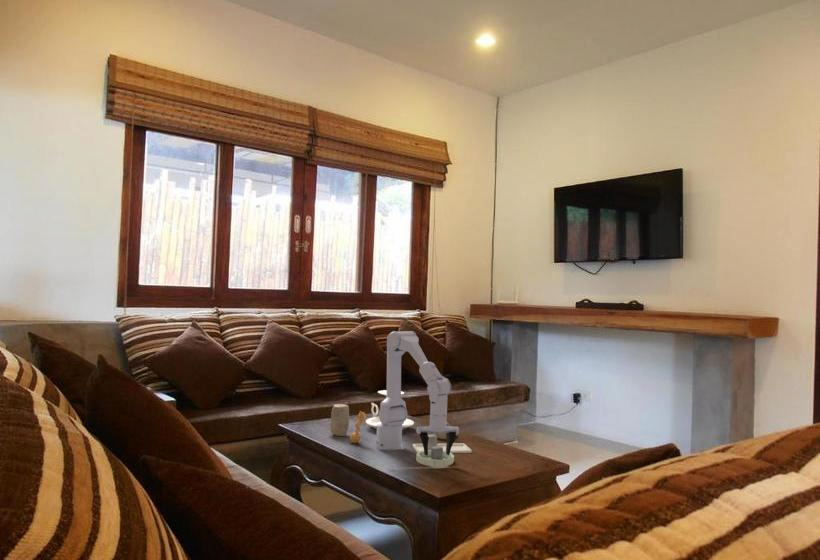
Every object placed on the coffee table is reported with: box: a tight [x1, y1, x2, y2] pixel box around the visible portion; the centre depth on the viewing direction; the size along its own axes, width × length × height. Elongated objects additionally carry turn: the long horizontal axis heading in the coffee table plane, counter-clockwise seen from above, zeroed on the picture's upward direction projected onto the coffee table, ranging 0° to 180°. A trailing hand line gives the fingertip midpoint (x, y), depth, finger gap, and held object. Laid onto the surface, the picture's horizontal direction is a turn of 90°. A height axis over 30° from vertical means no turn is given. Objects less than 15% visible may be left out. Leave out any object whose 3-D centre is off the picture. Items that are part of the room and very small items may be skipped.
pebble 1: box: [428, 434, 438, 450], centre depth 211 cm, size 4×4×5 cm
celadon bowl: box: [415, 450, 455, 469], centre depth 197 cm, size 13×13×3 cm
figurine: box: [349, 410, 368, 444], centre depth 219 cm, size 8×6×12 cm
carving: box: [329, 403, 350, 437], centre depth 230 cm, size 6×8×12 cm
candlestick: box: [365, 389, 415, 431], centre depth 245 cm, size 21×25×28 cm
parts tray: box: [412, 442, 473, 454], centre depth 212 cm, size 20×10×1 cm, turn 101°
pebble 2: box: [431, 446, 443, 460], centre depth 195 cm, size 4×4×5 cm
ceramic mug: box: [428, 421, 458, 440], centre depth 232 cm, size 11×8×8 cm
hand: (436, 454), depth 195 cm, fingers open, 7 cm apart
